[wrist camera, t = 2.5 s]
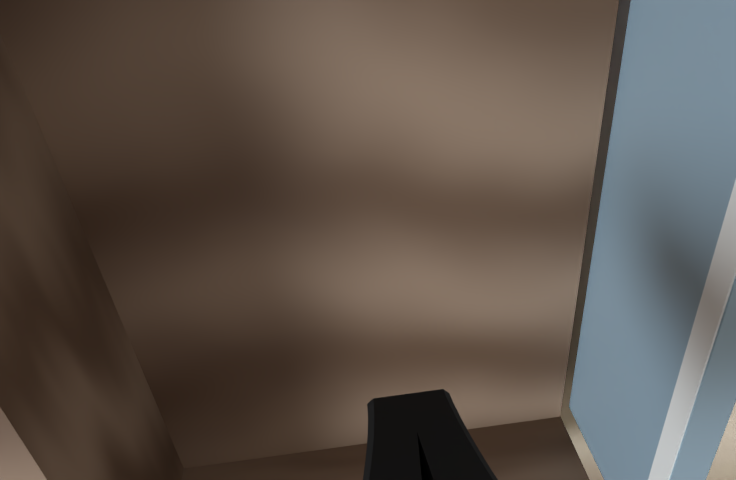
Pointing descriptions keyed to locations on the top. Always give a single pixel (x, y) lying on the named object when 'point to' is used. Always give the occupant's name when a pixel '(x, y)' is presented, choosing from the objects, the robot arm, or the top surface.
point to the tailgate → (664, 251)
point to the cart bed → (289, 229)
